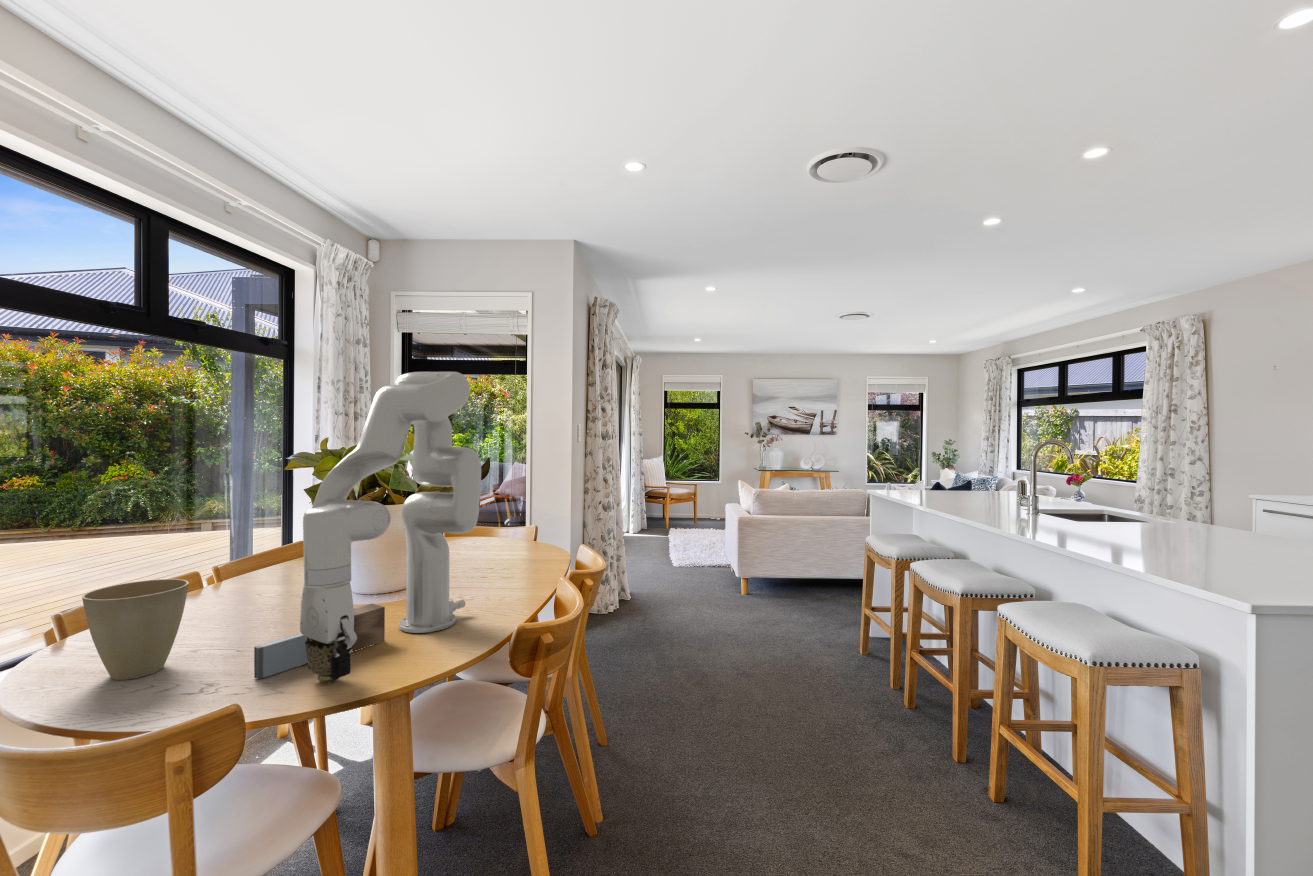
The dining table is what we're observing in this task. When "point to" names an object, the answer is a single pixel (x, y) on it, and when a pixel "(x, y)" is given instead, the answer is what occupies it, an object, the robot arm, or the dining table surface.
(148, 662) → the plant pot
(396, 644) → the dining table surface
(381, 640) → the dark brown rectangular beam
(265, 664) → the gray rectangular panel
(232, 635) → the dining table surface
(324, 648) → the cup
